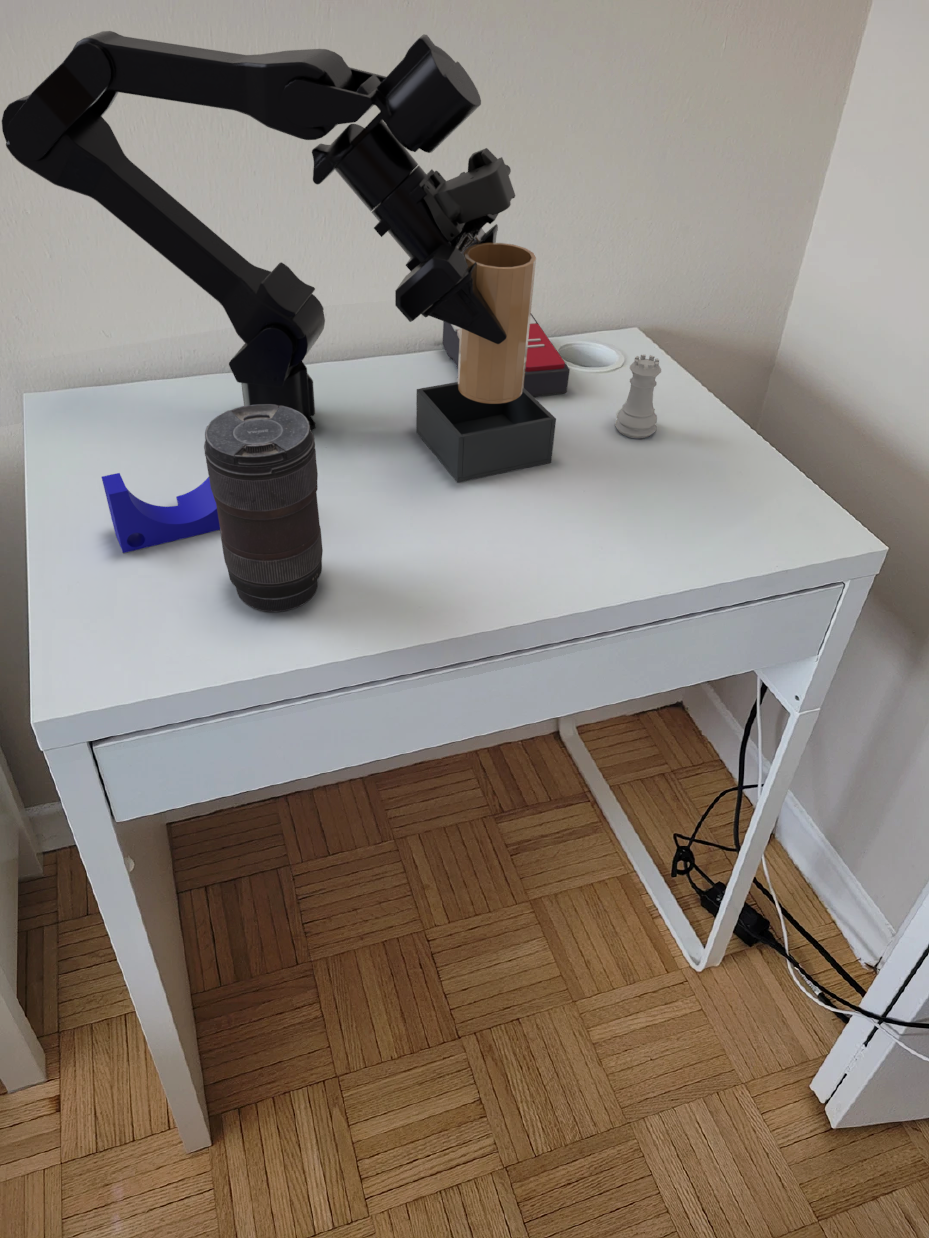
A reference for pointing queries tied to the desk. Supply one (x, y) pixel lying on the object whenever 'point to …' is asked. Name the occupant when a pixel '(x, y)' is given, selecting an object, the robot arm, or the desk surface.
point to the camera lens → (266, 503)
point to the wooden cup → (509, 296)
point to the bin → (483, 432)
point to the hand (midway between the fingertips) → (509, 326)
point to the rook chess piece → (640, 400)
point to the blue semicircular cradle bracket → (158, 515)
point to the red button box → (542, 360)
